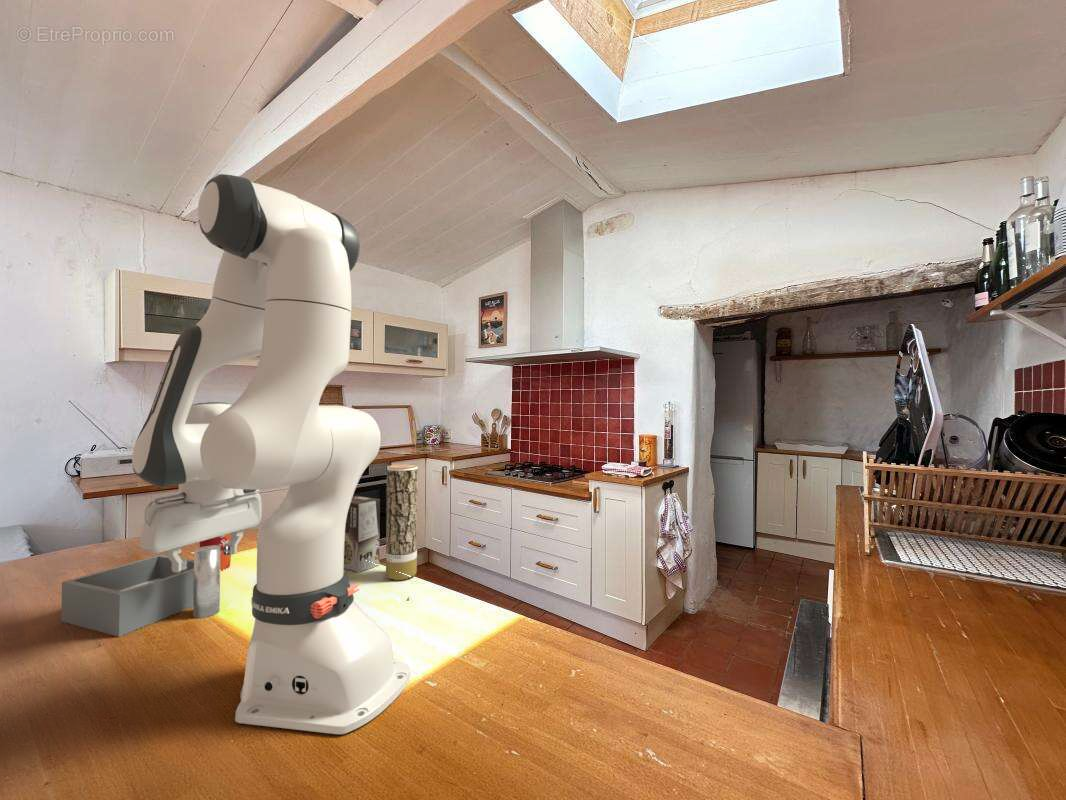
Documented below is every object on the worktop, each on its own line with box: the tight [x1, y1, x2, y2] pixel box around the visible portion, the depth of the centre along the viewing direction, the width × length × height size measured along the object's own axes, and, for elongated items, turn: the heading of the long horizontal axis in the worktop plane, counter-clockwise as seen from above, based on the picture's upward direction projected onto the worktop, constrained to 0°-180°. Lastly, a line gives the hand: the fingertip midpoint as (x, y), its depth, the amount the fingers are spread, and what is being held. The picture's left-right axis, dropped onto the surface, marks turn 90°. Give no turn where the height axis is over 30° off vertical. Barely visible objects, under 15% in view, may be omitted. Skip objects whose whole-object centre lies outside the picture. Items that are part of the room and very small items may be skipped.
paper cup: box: [198, 534, 232, 571], centre depth 107 cm, size 8×8×14 cm
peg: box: [192, 545, 221, 619], centre depth 84 cm, size 4×4×12 cm
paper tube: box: [385, 463, 419, 581], centre depth 103 cm, size 7×7×25 cm
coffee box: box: [344, 495, 381, 573], centre depth 110 cm, size 9×6×16 cm
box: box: [60, 553, 194, 638], centre depth 86 cm, size 16×16×7 cm
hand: (205, 562), depth 85 cm, fingers open, 8 cm apart
